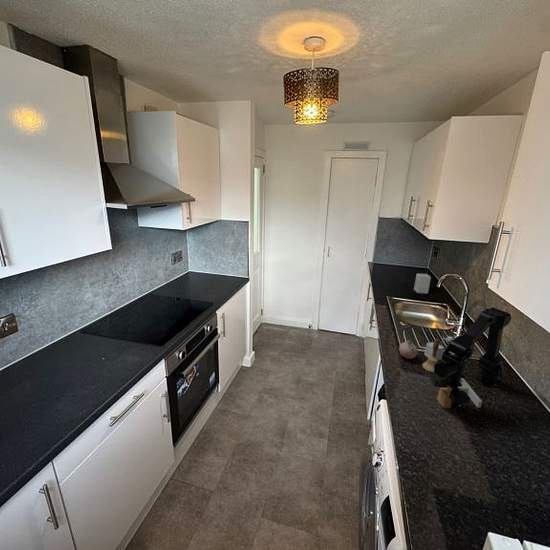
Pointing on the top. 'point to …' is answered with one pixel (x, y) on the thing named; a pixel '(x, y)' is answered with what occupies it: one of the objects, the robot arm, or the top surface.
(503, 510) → the top surface
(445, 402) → the cardboard shipping carton
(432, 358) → the hand bell
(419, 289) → the supplement box
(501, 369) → the robot arm
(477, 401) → the two-pronged gray clamp
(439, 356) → the product box
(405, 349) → the decorative fruit
